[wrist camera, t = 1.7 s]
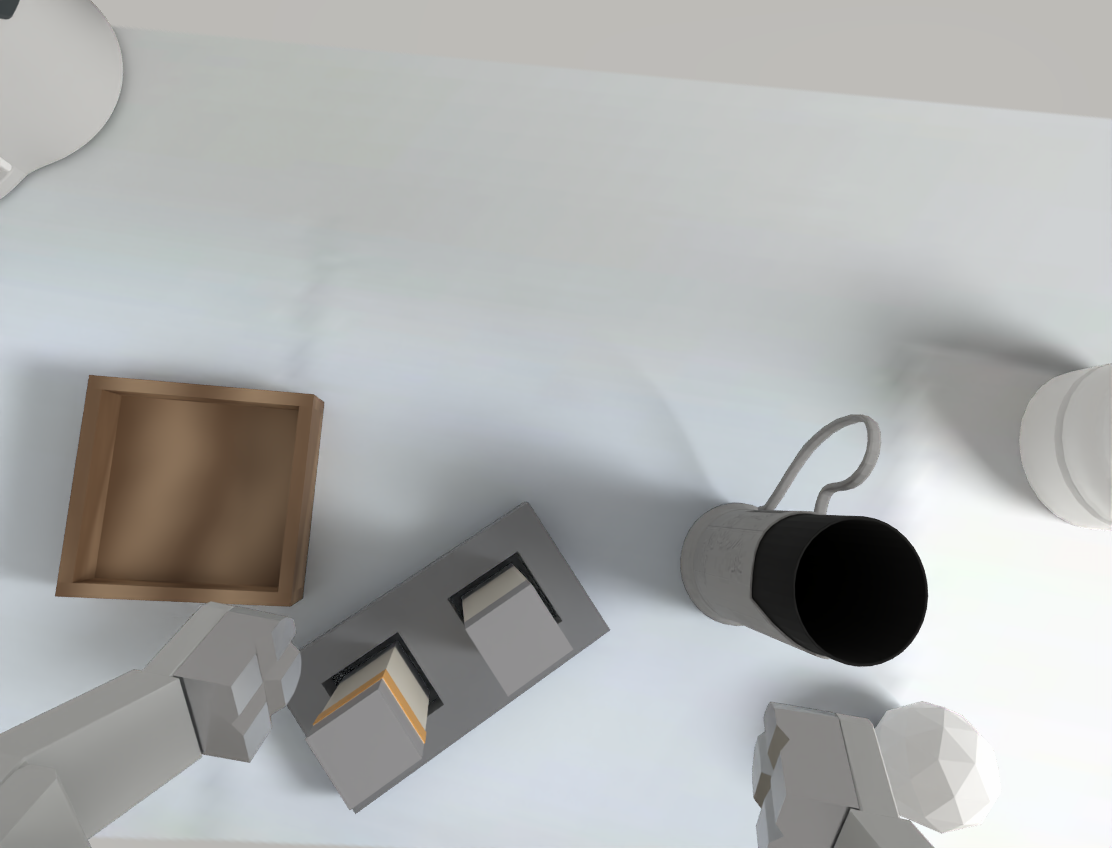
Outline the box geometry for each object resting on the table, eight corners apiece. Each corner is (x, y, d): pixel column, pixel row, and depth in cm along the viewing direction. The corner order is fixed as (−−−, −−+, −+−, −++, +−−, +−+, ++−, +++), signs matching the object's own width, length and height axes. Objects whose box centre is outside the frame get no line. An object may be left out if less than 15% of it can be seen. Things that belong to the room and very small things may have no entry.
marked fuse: (376, 729, 44) (349, 811, 32) (342, 675, 44) (303, 739, 32) (431, 691, 45) (423, 758, 33) (397, 638, 45) (378, 687, 33)
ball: (888, 709, 52) (1005, 709, 47) (903, 829, 49) (1032, 844, 43) (841, 693, 48) (963, 690, 43) (853, 822, 44) (989, 838, 39)
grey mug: (667, 608, 48) (763, 656, 33) (713, 417, 50) (822, 382, 35) (780, 638, 49) (922, 698, 34) (820, 450, 51) (970, 429, 36)
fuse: (493, 646, 46) (507, 696, 34) (461, 596, 46) (465, 629, 34) (542, 611, 47) (573, 649, 35) (511, 562, 47) (531, 583, 35)
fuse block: (360, 796, 43) (355, 813, 41) (277, 664, 44) (267, 674, 41) (602, 623, 47) (610, 630, 45) (524, 502, 47) (528, 502, 45)
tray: (87, 588, 42) (55, 596, 39) (117, 384, 44) (89, 374, 41) (302, 598, 44) (290, 606, 41) (324, 402, 46) (313, 394, 42)
